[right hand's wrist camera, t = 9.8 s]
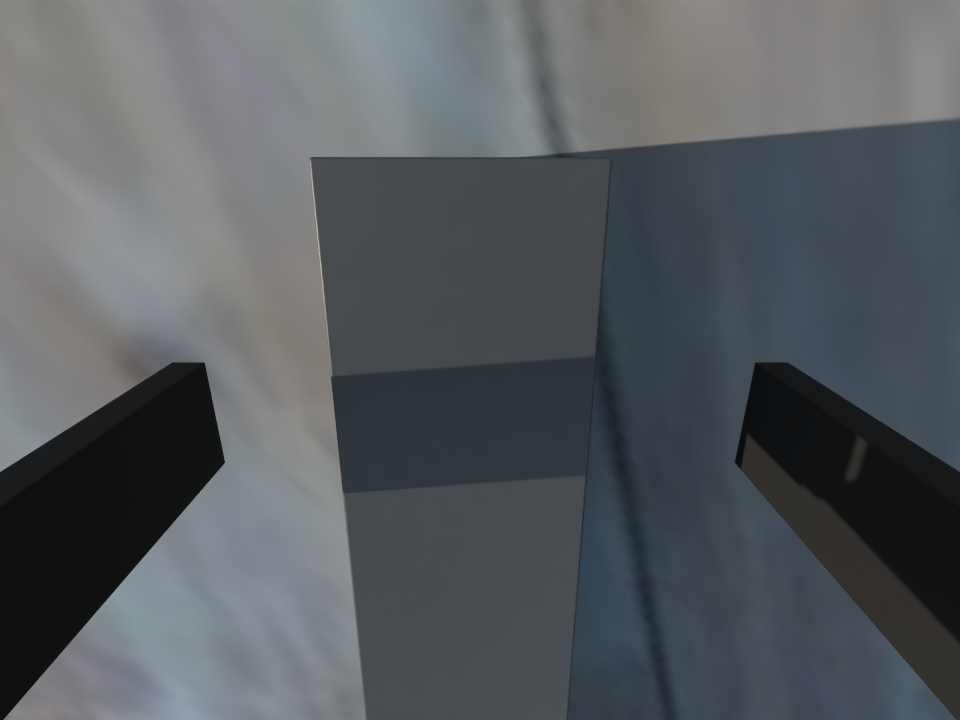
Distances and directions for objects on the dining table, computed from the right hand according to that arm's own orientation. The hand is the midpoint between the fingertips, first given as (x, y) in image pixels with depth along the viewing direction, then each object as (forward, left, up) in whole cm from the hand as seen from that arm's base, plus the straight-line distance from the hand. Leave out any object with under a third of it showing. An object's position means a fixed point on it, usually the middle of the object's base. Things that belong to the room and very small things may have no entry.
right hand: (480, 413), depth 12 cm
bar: (+22, +24, -7) cm, 33 cm away
